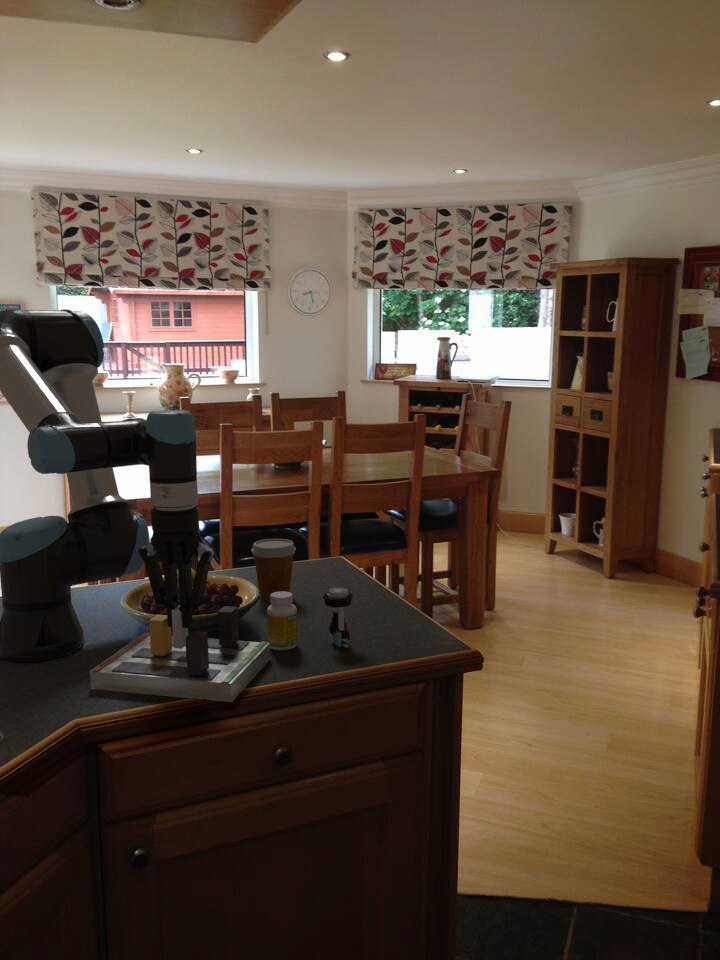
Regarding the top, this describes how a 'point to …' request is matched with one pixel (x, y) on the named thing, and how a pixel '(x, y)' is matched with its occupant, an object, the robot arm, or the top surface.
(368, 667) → the top surface
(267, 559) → the disposable coffee cup
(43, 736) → the top surface
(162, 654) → the block
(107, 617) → the top surface
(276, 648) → the supplement bottle
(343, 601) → the push button
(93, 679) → the panel
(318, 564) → the top surface
